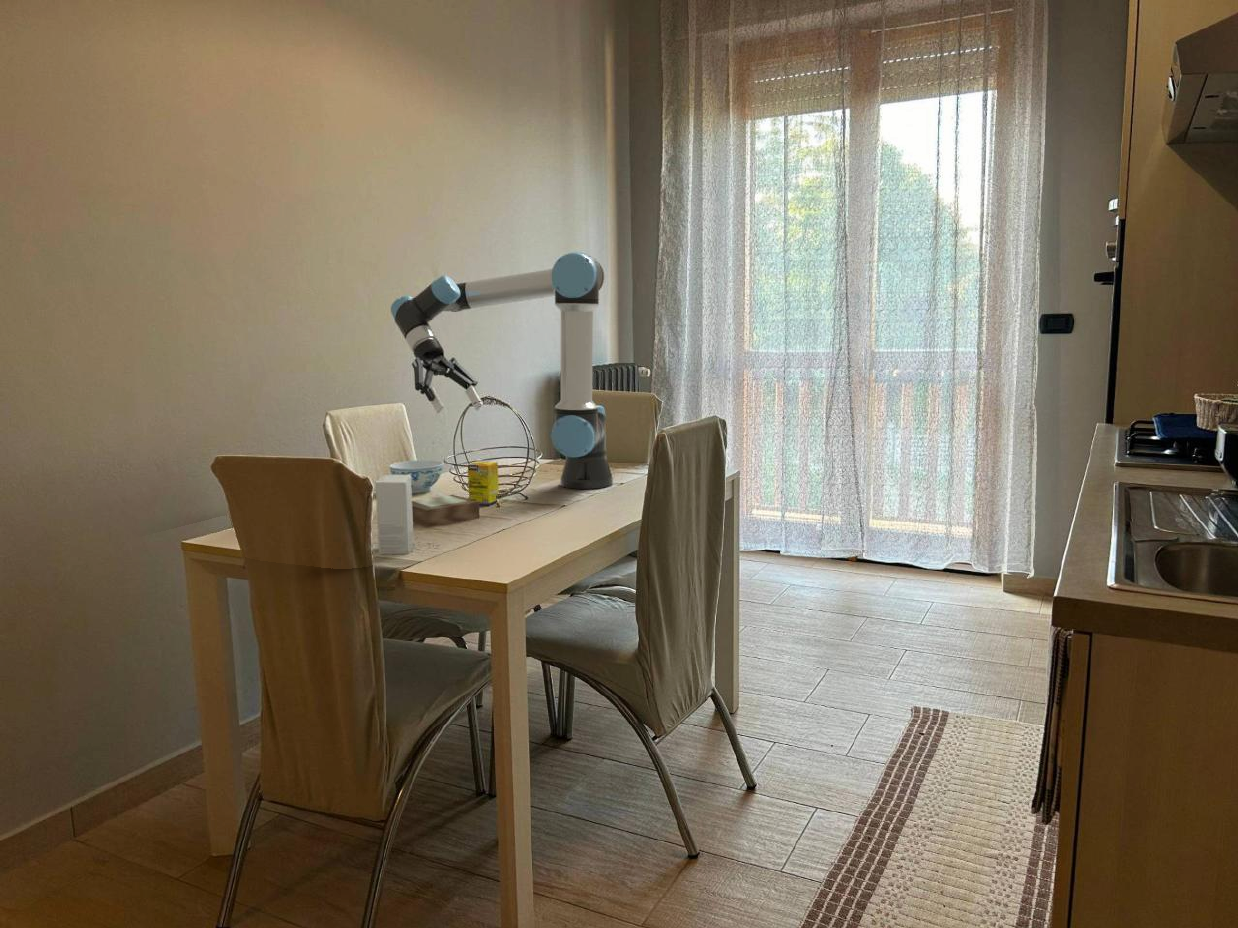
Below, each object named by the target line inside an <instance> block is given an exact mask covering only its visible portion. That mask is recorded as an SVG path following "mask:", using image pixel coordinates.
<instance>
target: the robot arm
mask: <svg viewBox="0 0 1238 928" xmlns="http://www.w3.org/2000/svg"><path fill="white" fill-rule="evenodd" d="M604 281H605V273H604V268H603V267H602V264H601V263H600V262H599V261H598V260H597V259H596V258H594V257H592V256H590V255H587V254H586V253H583V252H577V251H576V252H569V253H566V254H564V255H562V256H560V257H559V258H558V259H557V260H556V262H555V263H554V264H553V267H552V268H549V269H542V270H536V271H535V270H534V271H528V272H524V273H518V274H510V275H504V276H498V277H493V278H484V279H480V280H476V281H475V280H473V281H467V282H460V283H459V282H458V283H456V282H454V280H453V279H452V278H450V277H449V276H448V275H445V274H444V275H441V276H439V277H438V278H437V279H434V280H433V281H432V282H431V283H430V284H429V285H428V286H427V287H426V288H425V289H424V288H423V290H422V291H421V292H419V293H418V294H417V295H416V296H414V297H412V296H411V295H403V296H401V297H400V298H397V299H395V300H394V301H393V302H392V304H391V305H390V313H391V315H392V317H393V319H394V322H395V324H396V325H397V327H398V328H399V330H400V332H401V335H402V336H403V338H404V339H405V340H406V343H407V345H408V346H409V348H410V349H411V351H412V352H413V355H414V357H415V359H414V360H413V362H411V366H412V368H413V372H414V373H413V374H414V389H415V391H416V392H417V391H418V392H420V394H421V395H425V396H426V398H427V400H428V401H429V402H430V403H431V405H432V407H433V408H434V410H435V412H436V413H437V414H439V413H441V411H442V410H443V409H444V408H445V404H444V403H443V401H442V399H441V398H440V396H439V394H438V392H437V391H436V389H435V387H434V386H431V384H432V380H433V376H444V377H445V378H449V379H450V380H452V381H453V382H455V383H457V384H458V385H459V386H460V387H462V388H463V389H465V391H464V392H465V394H466V396H467V398H468V399H469V400H470V403H471V404H472V406H473V407H474V408H473V409H475V411H479V410H480V408H481V407H482V406H483V405H484V403H483V401H482V399H481V397H480V395H479V392H478V390H477V389H476V388H475V387H476V386H477V385H478V383H479V381H478V380H477V379H476V378H475V377H474V376H472V374H470V373H469V372H468V371H467V369H465V367H463V366H462V365H461V364H460V363H459V362H458V360H457V359H456V358H455V357H451V359H447V358H446V357H445V353H444V351H445V350H444V349H443V347H442V345H441V343H440V342H439V340H438V338H437V336H436V334H435V332H434V331H433V330H432V327H431V326H430V324H429V323H430V322H431V321H432V320H434V319H435V318H436V317H437V316H438V315H440V314H441V313H442V312H452V313H457V312H462V311H466V310H472V309H477V308H484V307H490V306H498V305H505V304H512V303H517V302H524V301H525V302H526V301H531V300H538V299H543V298H551V297H554V304H555V306H556V307H557V308H558V310H559V311H560V400H559V402H557V403H556V405H555V406H554V424H553V425H552V429H551V442H552V445H553V446H554V448H555V449H556V451H557V452H558V453H560V454H561V455H562V456H565V460H564V465H563V468H562V471H561V476H560V479H559V480H560V487H563V488H567V489H575V490H576V489H577V490H589V489H592V490H594V489H601V488H602V489H603V488H606V487H607V488H608V487H610V486H612V485H613V484H614V483H613V481H614V479H613V474H612V472H611V467H610V464H609V462H608V460H607V459H608V458H607V443H606V442H607V441H606V440H607V437H606V434H607V433H606V418H607V415H606V411H605V408H604V406H602V405H596V403H595V402H594V401H593V353H594V352H593V350H594V349H593V347H594V345H593V340H594V339H593V337H594V336H593V333H594V332H593V331H594V330H593V329H594V328H593V327H594V325H593V324H594V312H595V311H594V310H595V309H596V308H598V307H599V305H600V303H599V300H600V299H599V298H600V297H599V296H600V295H599V294H600V292H599V291H600V290H601V288H602V287H603V284H604ZM424 369H425V373H424ZM424 376H425V377H424ZM478 401H481V402H479V403H476V404H474V405H473V403H475V402H478Z"/></svg>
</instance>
